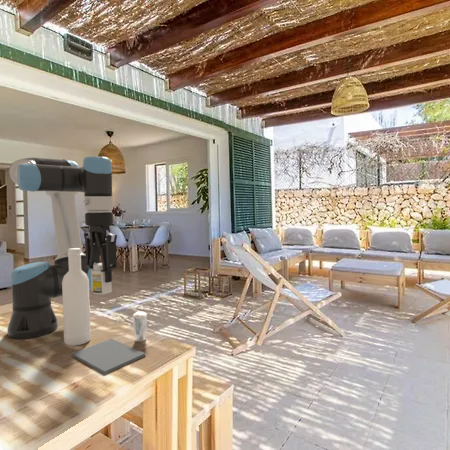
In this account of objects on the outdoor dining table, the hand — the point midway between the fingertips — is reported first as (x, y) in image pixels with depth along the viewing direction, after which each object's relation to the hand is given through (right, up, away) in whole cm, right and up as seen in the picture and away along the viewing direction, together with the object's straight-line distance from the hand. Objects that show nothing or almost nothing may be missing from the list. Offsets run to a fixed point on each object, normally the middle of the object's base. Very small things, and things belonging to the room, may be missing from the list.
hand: (101, 291), depth 96 cm
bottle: (-12, -18, +10) cm, 24 cm away
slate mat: (+2, -19, 0) cm, 19 cm away
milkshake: (+9, -18, +11) cm, 23 cm away
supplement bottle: (0, -1, 0) cm, 1 cm away
